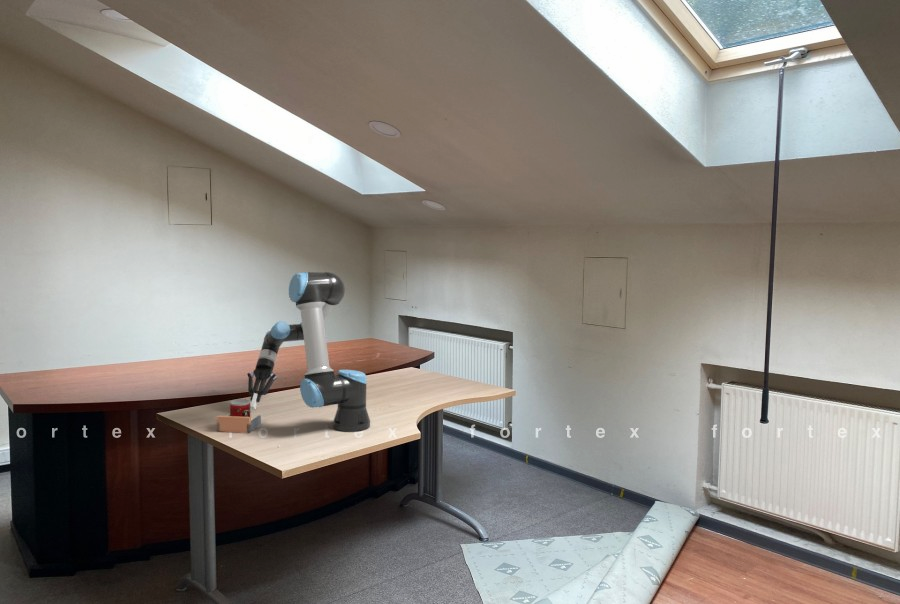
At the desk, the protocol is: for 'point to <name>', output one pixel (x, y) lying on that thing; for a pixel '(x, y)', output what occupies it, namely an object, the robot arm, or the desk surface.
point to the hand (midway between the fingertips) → (252, 408)
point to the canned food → (240, 408)
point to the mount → (237, 423)
